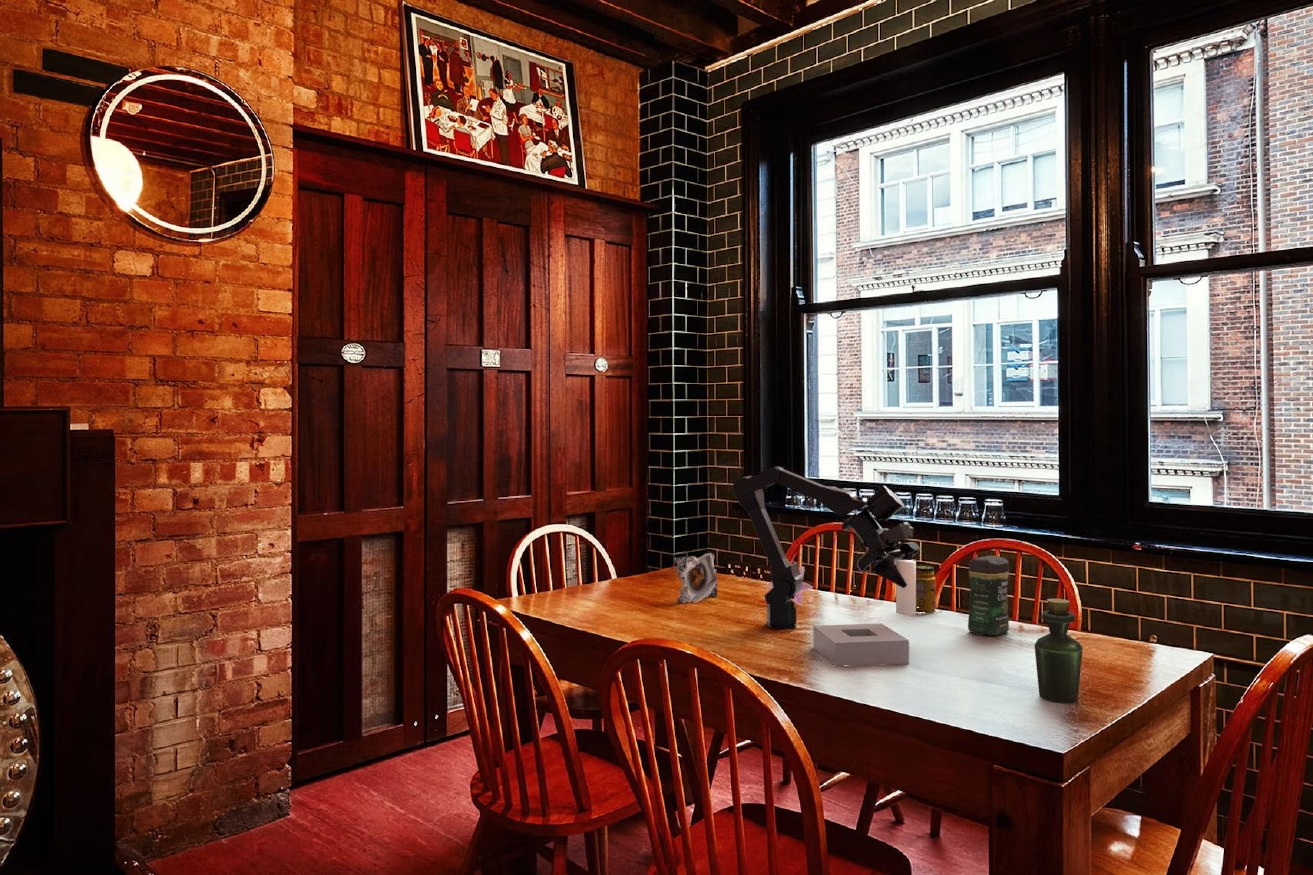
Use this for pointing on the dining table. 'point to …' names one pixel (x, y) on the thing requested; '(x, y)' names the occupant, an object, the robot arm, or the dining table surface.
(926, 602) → the condiment
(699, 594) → the ornate square frame
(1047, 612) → the potion bottle
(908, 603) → the pink cylinder peg
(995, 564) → the coffee jar
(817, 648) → the well block
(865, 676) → the dining table surface
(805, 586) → the lily
